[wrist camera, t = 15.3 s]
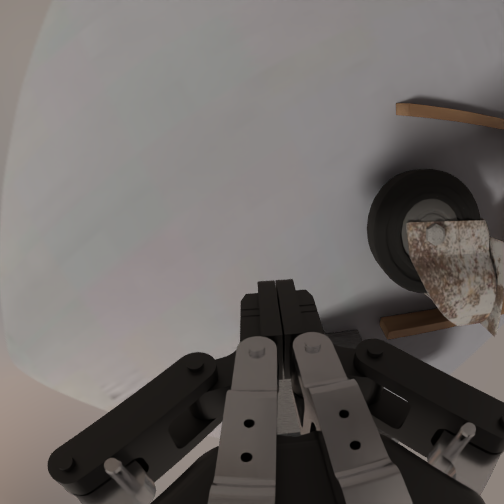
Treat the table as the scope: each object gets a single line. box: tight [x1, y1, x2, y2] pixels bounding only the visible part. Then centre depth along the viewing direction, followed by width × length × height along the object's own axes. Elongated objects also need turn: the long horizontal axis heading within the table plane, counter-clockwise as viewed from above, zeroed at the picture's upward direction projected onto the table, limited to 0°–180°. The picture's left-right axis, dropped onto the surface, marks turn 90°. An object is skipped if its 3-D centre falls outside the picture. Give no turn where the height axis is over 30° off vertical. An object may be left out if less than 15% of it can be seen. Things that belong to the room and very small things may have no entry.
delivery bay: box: [380, 103, 504, 340], centre depth 20 cm, size 18×14×2 cm
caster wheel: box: [367, 169, 504, 337], centre depth 19 cm, size 7×11×10 cm
